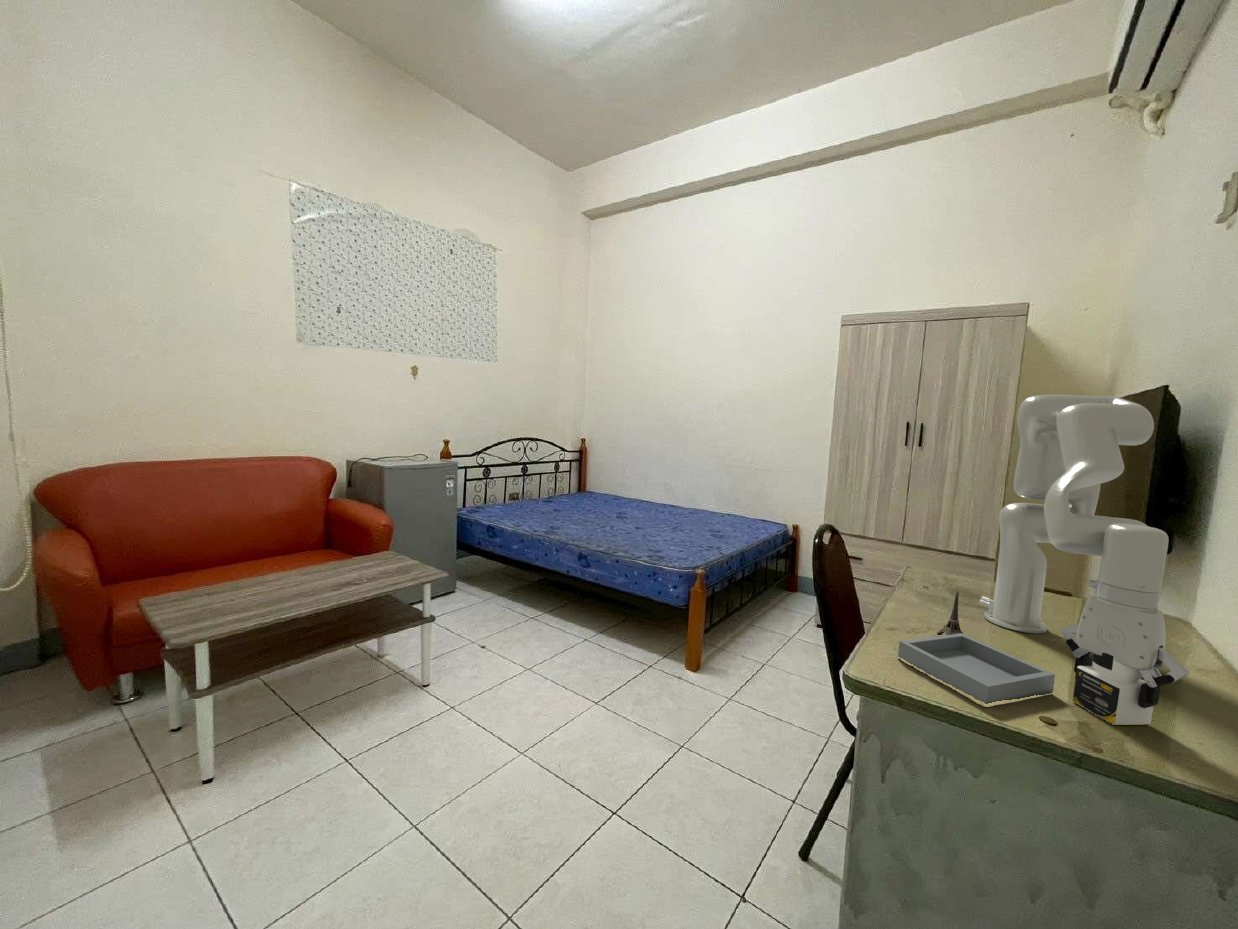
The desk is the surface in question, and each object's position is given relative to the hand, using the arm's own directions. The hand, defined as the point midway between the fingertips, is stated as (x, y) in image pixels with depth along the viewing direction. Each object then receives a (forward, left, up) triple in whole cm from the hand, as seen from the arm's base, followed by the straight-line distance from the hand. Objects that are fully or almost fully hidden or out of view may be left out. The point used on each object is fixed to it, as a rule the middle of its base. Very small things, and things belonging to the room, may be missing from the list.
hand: (1112, 691), depth 85 cm
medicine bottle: (0, 0, -4) cm, 4 cm away
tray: (-16, -12, -4) cm, 20 cm away
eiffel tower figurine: (-29, 0, -5) cm, 29 cm away
